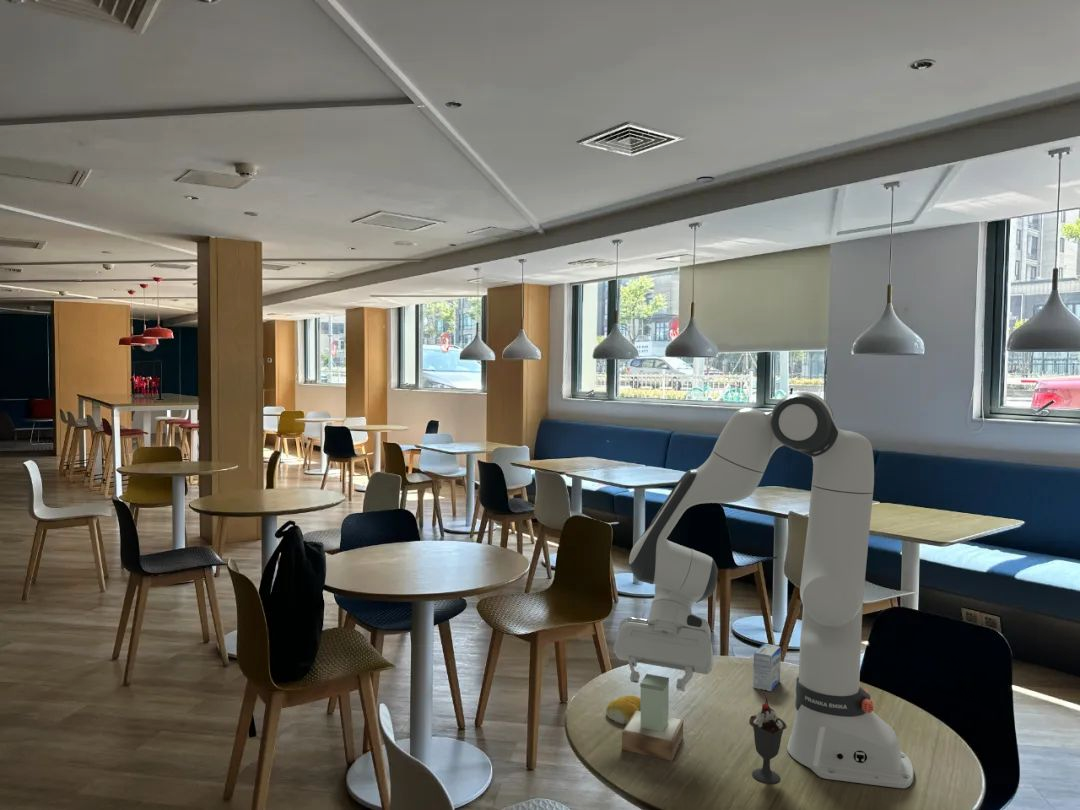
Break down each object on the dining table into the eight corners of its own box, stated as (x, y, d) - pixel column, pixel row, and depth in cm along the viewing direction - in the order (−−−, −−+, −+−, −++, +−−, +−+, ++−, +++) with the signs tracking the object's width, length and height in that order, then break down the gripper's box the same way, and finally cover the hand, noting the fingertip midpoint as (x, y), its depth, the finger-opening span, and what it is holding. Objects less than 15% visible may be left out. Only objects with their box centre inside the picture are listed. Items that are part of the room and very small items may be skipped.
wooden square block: (682, 739, 149) (683, 719, 149) (672, 762, 140) (672, 741, 140) (635, 729, 153) (635, 709, 153) (621, 751, 144) (622, 730, 144)
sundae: (758, 762, 140) (761, 685, 139) (791, 777, 135) (794, 697, 135) (740, 775, 136) (742, 695, 135) (772, 790, 131) (776, 708, 130)
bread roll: (654, 715, 159) (655, 697, 159) (630, 729, 153) (630, 710, 152) (624, 703, 165) (624, 686, 165) (599, 716, 158) (599, 698, 158)
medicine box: (771, 692, 172) (772, 656, 172) (752, 687, 174) (753, 652, 174) (780, 681, 179) (781, 646, 178) (761, 677, 181) (763, 642, 181)
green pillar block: (668, 721, 148) (668, 677, 147) (662, 732, 143) (663, 687, 143) (646, 716, 149) (646, 673, 149) (640, 727, 145) (640, 683, 145)
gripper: (618, 608, 157) (604, 669, 149) (715, 622, 150) (705, 687, 141) (624, 622, 162) (610, 683, 153) (718, 637, 154) (709, 701, 145)
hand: (656, 685), depth 147 cm, fingers open, 8 cm apart
